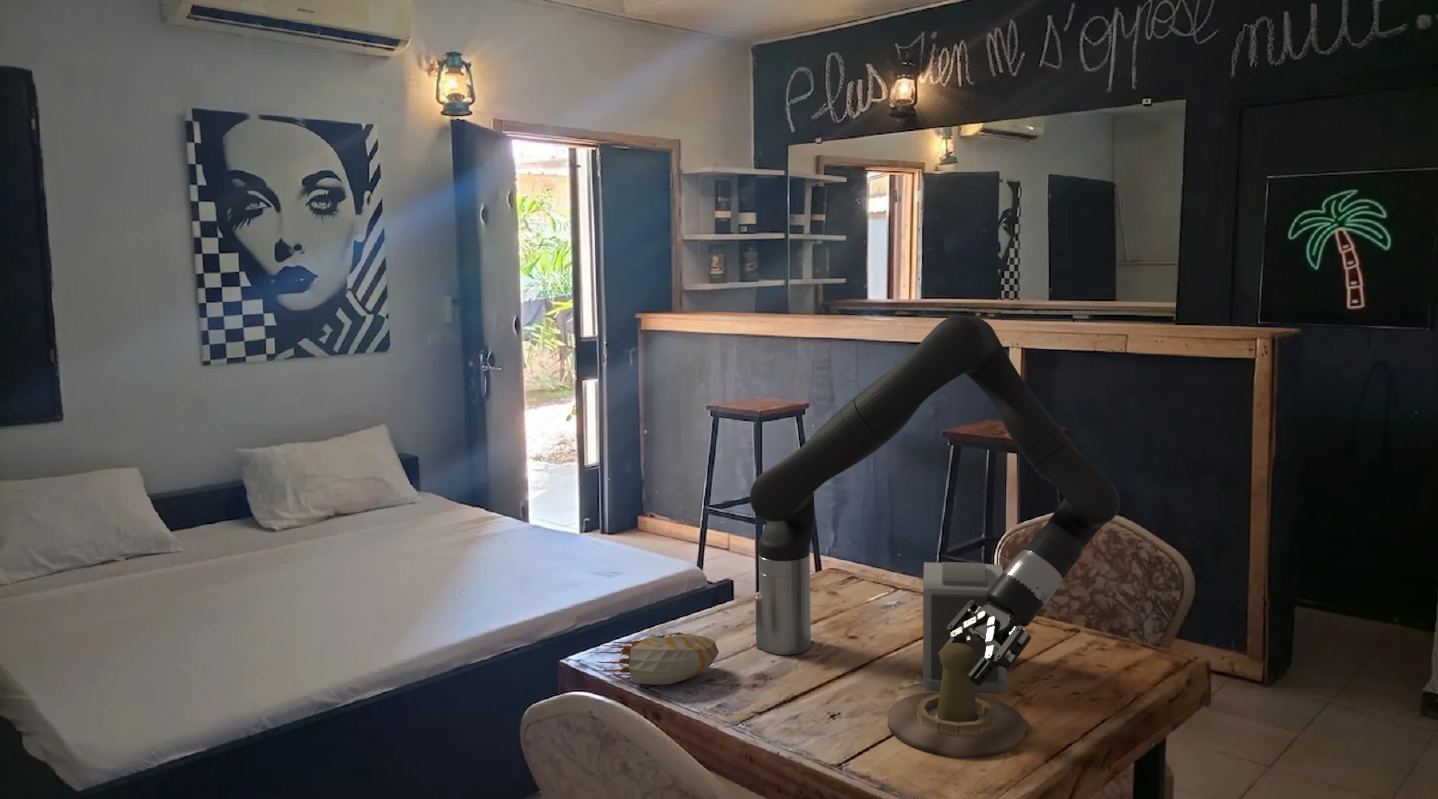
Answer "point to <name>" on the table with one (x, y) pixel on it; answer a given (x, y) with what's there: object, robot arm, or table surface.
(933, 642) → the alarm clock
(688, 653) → the nautilus
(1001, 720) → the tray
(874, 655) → the table surface
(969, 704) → the cork
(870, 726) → the table surface
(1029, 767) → the table surface
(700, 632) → the table surface
